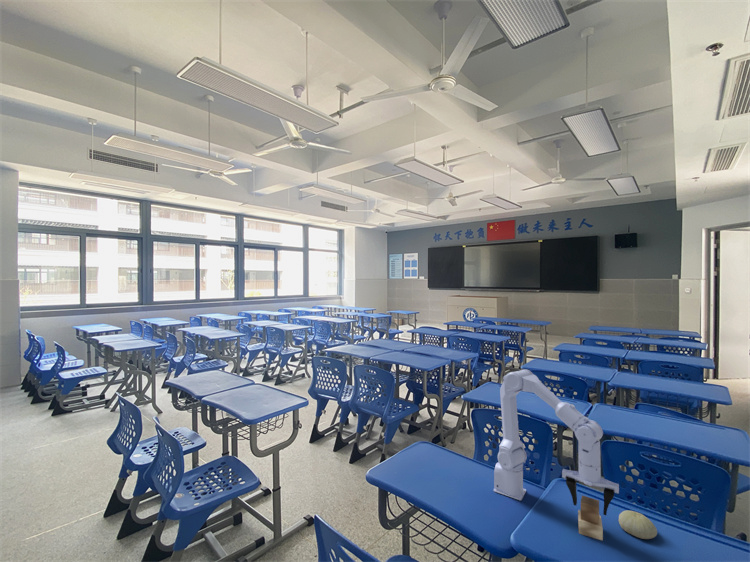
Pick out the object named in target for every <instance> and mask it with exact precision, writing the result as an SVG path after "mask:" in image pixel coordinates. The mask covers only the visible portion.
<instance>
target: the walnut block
mask: <svg viewBox="0 0 750 562" xmlns="http://www.w3.org/2000/svg"><path fill="white" fill-rule="evenodd" d="M580 510H581V519H582V520H585V521H588V522H591V523H594V524H597V525H599V516H600V500H598V499H596V498H592V497H589V496H586V495H583V494H582V495H581V499H580Z"/></svg>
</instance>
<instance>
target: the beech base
mask: <svg viewBox="0 0 750 562" xmlns="http://www.w3.org/2000/svg"><path fill="white" fill-rule="evenodd" d="M577 520H578V521H577V522H578V527H577V528H578V534H580V535H582V536H586V537H589V538H593V539H596V540H598V541H604V540H603V539H604V534H603V533H604V531H603V521H602V516H601V515H599V525H597V524H594V523H591V522H588V521H585V520H582V519H581V509H578V510H577Z"/></svg>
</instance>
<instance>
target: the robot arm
mask: <svg viewBox="0 0 750 562" xmlns="http://www.w3.org/2000/svg"><path fill="white" fill-rule="evenodd" d="M502 378H503V381H502V383H501V386H500V388H499V394H500V396H499V397H500V407H501V408H500V409H501V425H502V440H501V442H500V444H499V445H498V447H499V448H498V449H499V450H498V453H497V461H498V462H496V463H495V467H494V471H493V479H494V480H493V492H494V493H496V494H497V493H498V494H501V495H502V496H507V497H509V498H512V499H515V500H518V501H522V500H523V498H524V496H525V494H526V492H527V489H526V488H524V479H523V478H524V463H525V462H526V461H527V452H526V450H525V448H524V443H523V442H522V440H520V434H519V433H520V431H519V419H518V405H517V403H518V402H517V395H518V394H519V393H521V392H526V393H532V394H533V393H534V395H536V396H537V397H539V398H540V399H541V400H542V401H543V402H544V403H546V404H547V405H548V406H550V407H551V408H552V409H553V410H554V411H555V413H554V414H555V416H556V417H557V418H558V419H560V420H561V422H563V423H564V424H565V425H566V426H567V427H568V428H570V430H571V431H572V432H574V436H575V438H576V440H577V441H578V447H577V448H578V449H577V450H578V451H577V452H578V454H577V455H578V457H577V458H578V470H569V469H565V468H562V472H561V478H562V479H563V478H564V479H565V483H566V487H567V488H568V490H569V493H570V495H571V499H572V503H573V504H572V505H573V506H577V505H578V495H577V483H578V482H581V483H584V485H586V486H589V487H593V486H594V487H597V488H600V489H603V511H602V512H603V513H602V514H603V516H607V512H608V508H609V505H610V503H611V502H612V500H613V499H614V497H615V494H620V493H619V492H620V488H619V487H620V485H619V483H616V482H613V481H610V480H608V479H606V478H603V477H602V476H601V475H602V474H601V473H602V471H601V469H602V468H601V466H602V465H601V441H600V440H601V439H602V437H603V435H604V431H603V429H602V426H601V425H600V424H599V423H598V422H597V421H596V420H592V419H590V418H589V417H587V416H585V415H584V414H582V413H581V412H580V411H579V410H577V408H576V406H575V405H574V404H573V403H571V404H570V403H569V402H566V401H564V402H563V401H562V400H561V399H559V398H558V396H557V395H555V394H554V393H553V392H552V391H551V390H550V389H549V388H548V387H547V386H546V385H545V384H544V383H542V381H540V379H539V377H538V376H537V375H536V374H534V373H533V372H532V371H531V370H529V369H524V368H523V369H521V370H516V371H511V372H508V373H507V374H506V375H504V376H503V377H502ZM577 481H578V482H577Z"/></svg>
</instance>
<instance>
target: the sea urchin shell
mask: <svg viewBox="0 0 750 562" xmlns="http://www.w3.org/2000/svg"><path fill="white" fill-rule="evenodd" d="M618 523H619V526H620V528H621V529H622V530H623V531H625V532H627V533H628V534H629V535H632V536H634V537H635V538H639V539H643V540H652V539H654V538H655V537H657V535H658V529H657V527H656V526H655V524H654V523H653V522H652V520H650V519H649V518H648V517H646V516H645V515H644V514H642V513H640V512H637V511H635V510H634V511H633V510H627V509H626V510H624V511H622V512H620V513H619V515H618Z"/></svg>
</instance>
